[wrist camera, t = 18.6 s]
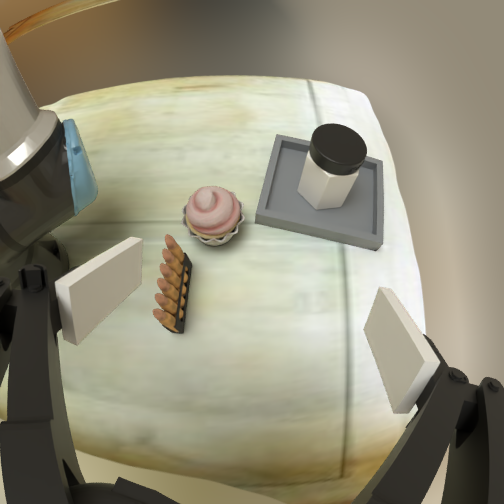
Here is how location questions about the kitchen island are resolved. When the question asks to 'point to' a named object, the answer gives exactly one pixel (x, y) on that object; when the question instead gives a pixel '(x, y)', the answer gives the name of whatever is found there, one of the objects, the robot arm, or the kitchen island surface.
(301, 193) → the jar
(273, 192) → the tray
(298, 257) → the kitchen island surface
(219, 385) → the kitchen island surface
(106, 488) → the robot arm
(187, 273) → the ammunition clip
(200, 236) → the cupcake
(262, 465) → the kitchen island surface
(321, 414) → the kitchen island surface
